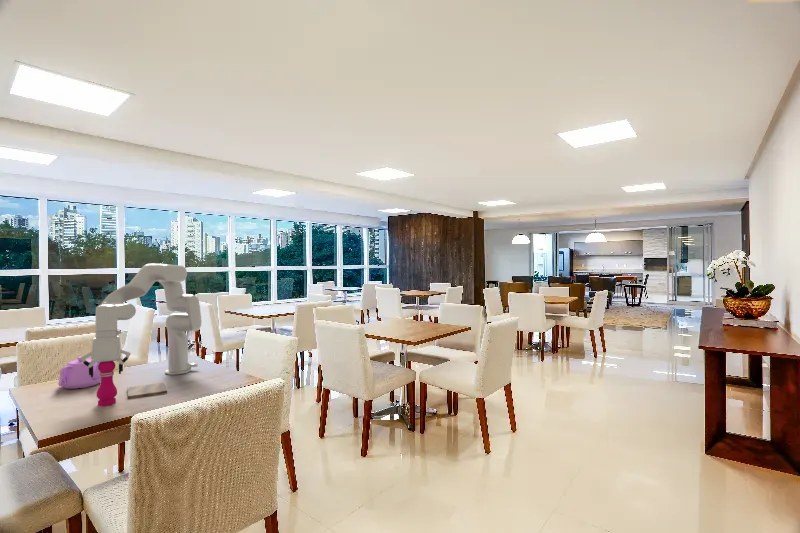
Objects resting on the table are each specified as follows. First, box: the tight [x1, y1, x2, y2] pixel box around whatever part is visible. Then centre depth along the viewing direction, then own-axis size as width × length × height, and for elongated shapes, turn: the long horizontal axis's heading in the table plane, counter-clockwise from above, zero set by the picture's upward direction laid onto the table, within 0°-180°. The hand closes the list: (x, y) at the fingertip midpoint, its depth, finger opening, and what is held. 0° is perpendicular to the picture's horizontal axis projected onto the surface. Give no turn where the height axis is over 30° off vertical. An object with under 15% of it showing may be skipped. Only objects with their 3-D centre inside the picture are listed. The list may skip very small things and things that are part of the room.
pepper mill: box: [95, 361, 118, 407], centre depth 180 cm, size 7×7×20 cm
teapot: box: [57, 355, 101, 390], centre depth 205 cm, size 22×22×14 cm
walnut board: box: [127, 382, 168, 400], centre depth 196 cm, size 15×15×1 cm
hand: (106, 374), depth 179 cm, fingers open, 9 cm apart
